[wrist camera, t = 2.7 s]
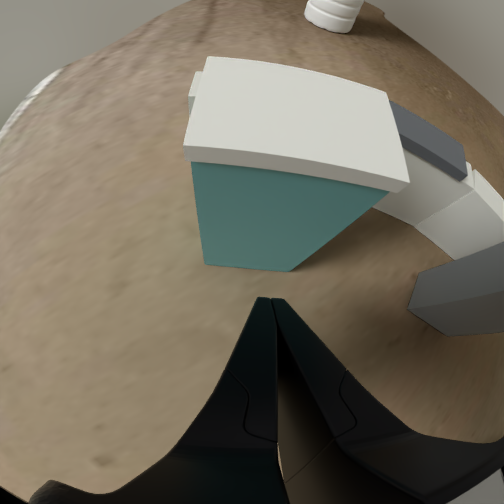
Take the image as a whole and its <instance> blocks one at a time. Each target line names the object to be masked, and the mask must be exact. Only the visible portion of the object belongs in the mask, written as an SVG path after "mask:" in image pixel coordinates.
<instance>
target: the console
mask: <svg viewBox="0 0 504 504" xmlns="http://www.w3.org/2000/svg"><path fill="white" fill-rule="evenodd" d="M202 73H203V72H197V71H196V73H195V76H194V79H193V82H192V85H191V88H190V92H189V95H188V102H189V116H190V115H191V112H192V108H193V104H194V101H195V97H196V93H197V90H198V86H199V83H200V80H201V76H202ZM389 103H390V106H391V109H392V113H393V116H394V119H395V123H396V126H397V130H398V133H399V137H400V141H401V145H402V149H403V153H404V157H405V161H406V166H407V170H408V175H409V180H410V183H409V184H408V185H407V186H406V187H404V188H403V189H402V190H401V191H399V192H398V193H394V192H389V193H388V194H387V195H386V196H385V197H383V198H382V199H381V200H380V201H378V202H377V203H376V204H375V205H374V206H372V208H375V209H377V210H379V211H382V212H384V213H386V214H388V215H391V216H393V217H395V218H397V219H399V220H402V221H404V222H406V223H408V224H410V225H412V226H414V228H416V229H417V230H418V231H420V232H421V233H422V234H423V235H425V236H426V237H427V238H428V239H430V240H431V241H432V242H433V243H435V244H436V245H437V246H438V247H440V248H441V249H442V250H443V251H444V252H446V253H447V254H448V255H449V256H450V257H451V258H453V259H454V260H457V259H460V258H463V257H465V256H468V255H471V254H473V253H476V252H479V251H481V250H484V249H486V248H489V247H491V246H494V245H496V244H499V243H501V242H504V200H503V199H502V197H501V196H500V195H499V194H498V193H497V192H496V191H495V189H494V188H493V187H492V186H491V185H490V184H489V183H488V182H487V181H486V180H485V179H484V178H483V177H482V176H481V174H480V173H479V172H478V171H477V170H476V169H475V170H473V171H472V169H471V164H469V163H468V162H467V161H466V160H465V154H464V149H463V145H462V144H460V143H459V142H457V141H456V140H455V139H453V138H452V137H450V136H449V135H447V134H446V133H444V132H443V131H441V130H440V129H438V128H437V127H435V126H434V125H432V124H430V123H429V122H427V121H426V120H424V119H422V118H421V117H419V116H417V115H416V114H414V113H412V112H410V111H409V110H407V109H405V108H403V107H401V106H400V105H398V104H396V103H394V102H392V101H390V100H389Z"/></svg>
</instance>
